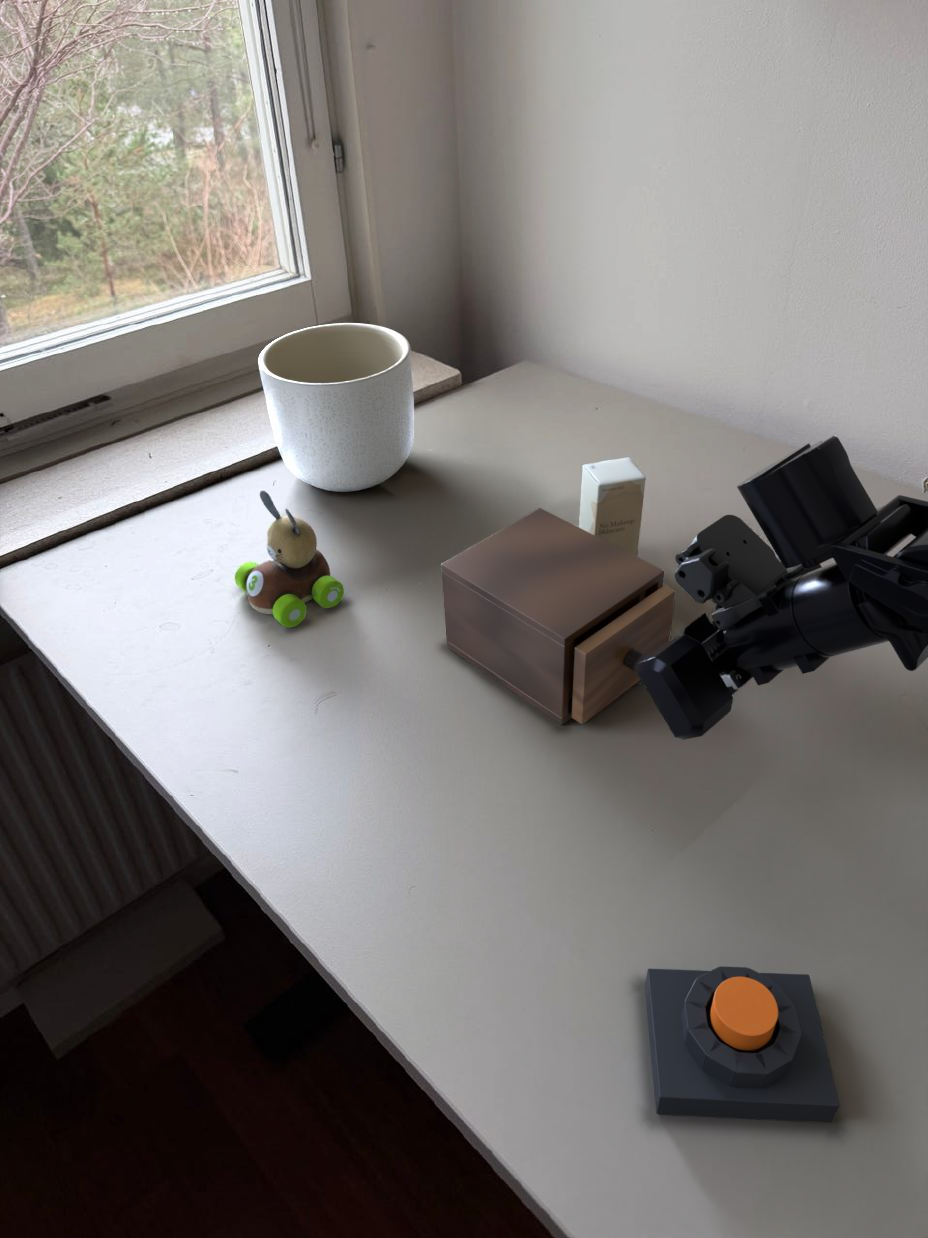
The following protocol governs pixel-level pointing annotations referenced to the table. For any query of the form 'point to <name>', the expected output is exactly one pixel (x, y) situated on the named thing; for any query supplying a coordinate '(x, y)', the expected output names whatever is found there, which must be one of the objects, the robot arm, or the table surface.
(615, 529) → the box
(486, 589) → the nightstand
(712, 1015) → the button
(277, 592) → the toy car
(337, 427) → the planter
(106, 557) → the table surface
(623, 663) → the brown wooden drawer
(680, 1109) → the switch block
